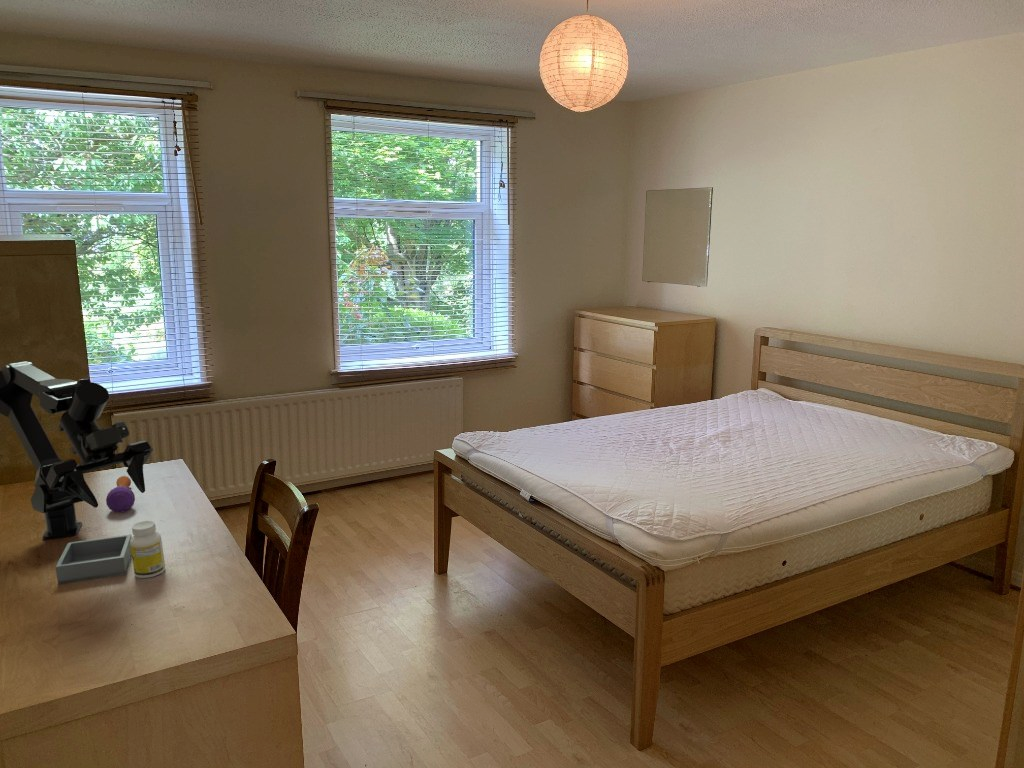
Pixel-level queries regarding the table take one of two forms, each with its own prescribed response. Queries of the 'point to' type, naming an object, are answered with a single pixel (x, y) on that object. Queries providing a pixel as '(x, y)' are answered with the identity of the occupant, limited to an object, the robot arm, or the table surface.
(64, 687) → the table surface
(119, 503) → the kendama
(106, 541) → the tray
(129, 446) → the robot arm
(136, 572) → the supplement bottle
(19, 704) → the table surface
